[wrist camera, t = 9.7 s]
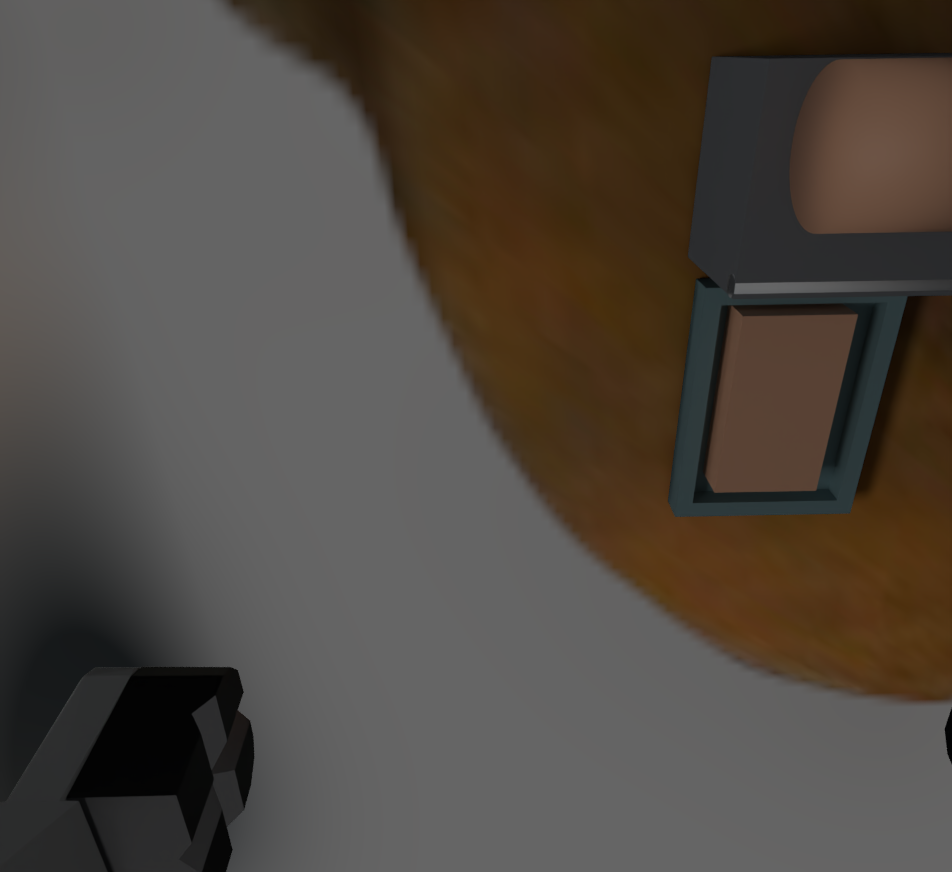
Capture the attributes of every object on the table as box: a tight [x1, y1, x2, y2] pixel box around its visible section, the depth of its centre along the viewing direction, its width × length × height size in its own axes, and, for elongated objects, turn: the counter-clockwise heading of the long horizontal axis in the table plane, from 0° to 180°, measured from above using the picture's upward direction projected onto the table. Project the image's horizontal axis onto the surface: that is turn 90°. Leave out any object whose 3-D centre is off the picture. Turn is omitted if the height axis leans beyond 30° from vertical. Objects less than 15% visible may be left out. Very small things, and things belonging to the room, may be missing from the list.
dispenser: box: [688, 53, 952, 299], centre depth 26 cm, size 8×9×11 cm
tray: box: [668, 278, 908, 517], centre depth 36 cm, size 12×9×2 cm
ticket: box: [703, 303, 858, 493], centre depth 35 cm, size 9×5×2 cm, turn 1°
